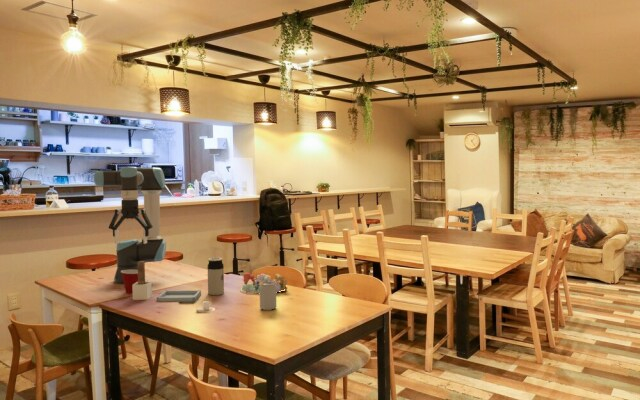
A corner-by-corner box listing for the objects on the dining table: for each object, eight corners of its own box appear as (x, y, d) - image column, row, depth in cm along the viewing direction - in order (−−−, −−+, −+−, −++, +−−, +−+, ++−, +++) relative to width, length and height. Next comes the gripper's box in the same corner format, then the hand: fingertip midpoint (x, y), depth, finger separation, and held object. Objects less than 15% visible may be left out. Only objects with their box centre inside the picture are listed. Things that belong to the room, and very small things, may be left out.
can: (279, 307, 228) (278, 281, 227) (272, 311, 221) (272, 285, 220) (264, 306, 230) (263, 280, 230) (257, 310, 223) (256, 284, 223)
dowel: (139, 297, 244) (138, 261, 243) (146, 297, 244) (145, 260, 243) (137, 298, 241) (136, 262, 240) (144, 298, 241) (143, 262, 240)
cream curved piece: (197, 314, 219) (197, 305, 219) (193, 310, 226) (193, 301, 226) (217, 311, 223) (217, 302, 223) (212, 307, 230) (212, 298, 230)
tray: (165, 295, 251) (165, 290, 250) (201, 295, 251) (200, 290, 251) (156, 303, 237) (156, 297, 236) (194, 302, 237) (194, 297, 237)
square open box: (137, 297, 247) (137, 281, 246) (152, 297, 247) (151, 281, 246) (132, 301, 240) (132, 284, 239) (147, 301, 240) (147, 284, 239)
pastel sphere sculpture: (281, 283, 277) (280, 267, 276) (293, 293, 255) (293, 275, 254) (236, 287, 268) (236, 270, 268) (245, 298, 246) (245, 279, 246)
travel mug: (204, 294, 252) (204, 259, 251) (213, 291, 259) (213, 256, 258) (218, 296, 249) (217, 260, 248) (227, 292, 256) (226, 257, 255)
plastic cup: (147, 293, 255) (146, 270, 254) (125, 297, 248) (125, 273, 247) (139, 289, 263) (138, 267, 262) (118, 293, 256) (117, 270, 255)
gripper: (100, 199, 233) (101, 244, 235) (153, 199, 233) (154, 244, 234) (107, 198, 241) (108, 242, 242) (158, 198, 240) (159, 242, 242)
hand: (131, 243), depth 238 cm, fingers open, 13 cm apart
